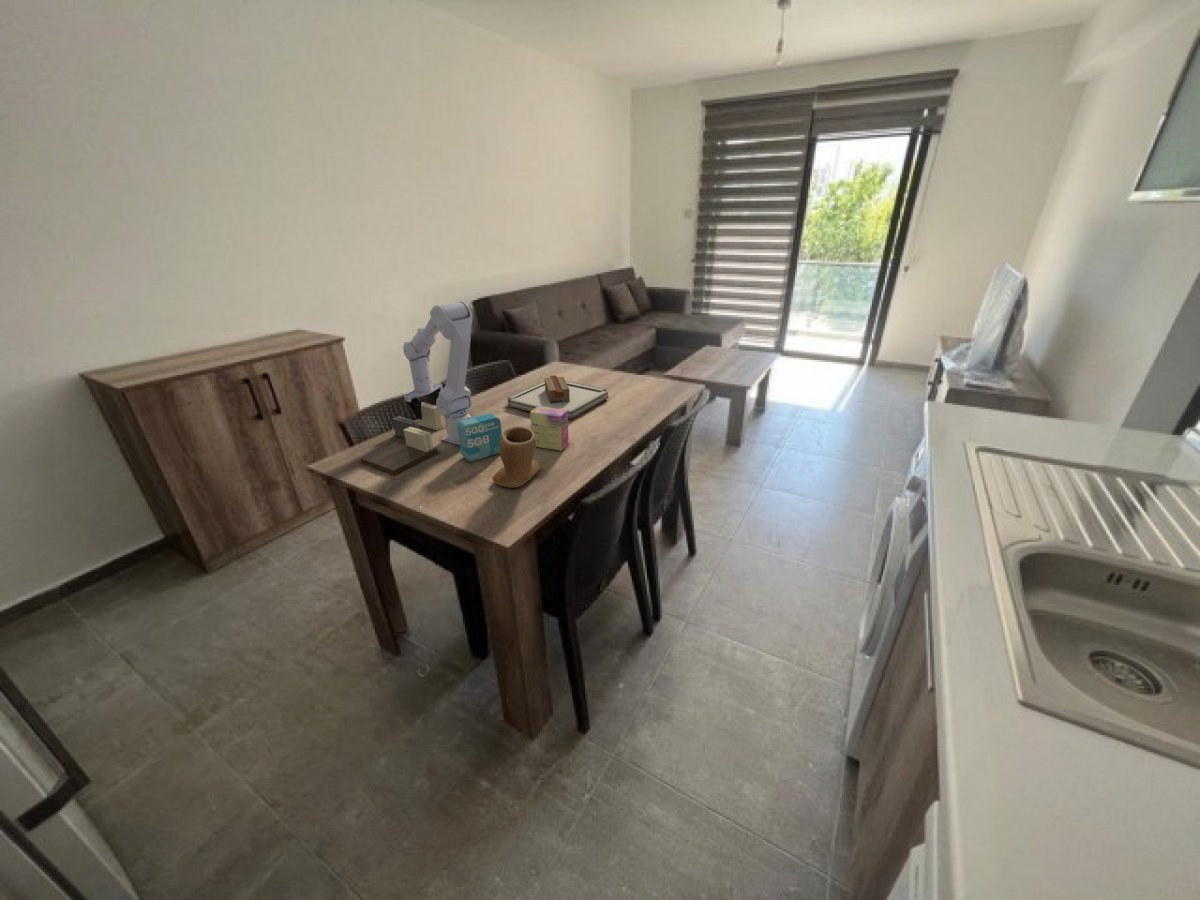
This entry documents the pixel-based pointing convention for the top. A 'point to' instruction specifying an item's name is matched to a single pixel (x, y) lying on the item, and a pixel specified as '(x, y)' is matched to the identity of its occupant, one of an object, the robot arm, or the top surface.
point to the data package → (479, 436)
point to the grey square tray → (558, 396)
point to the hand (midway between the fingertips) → (428, 415)
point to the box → (550, 427)
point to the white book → (430, 417)
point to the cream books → (418, 439)
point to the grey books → (403, 425)
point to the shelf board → (396, 457)
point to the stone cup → (517, 457)
